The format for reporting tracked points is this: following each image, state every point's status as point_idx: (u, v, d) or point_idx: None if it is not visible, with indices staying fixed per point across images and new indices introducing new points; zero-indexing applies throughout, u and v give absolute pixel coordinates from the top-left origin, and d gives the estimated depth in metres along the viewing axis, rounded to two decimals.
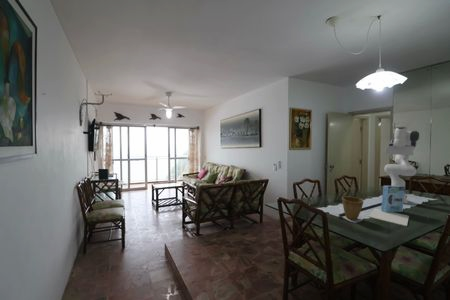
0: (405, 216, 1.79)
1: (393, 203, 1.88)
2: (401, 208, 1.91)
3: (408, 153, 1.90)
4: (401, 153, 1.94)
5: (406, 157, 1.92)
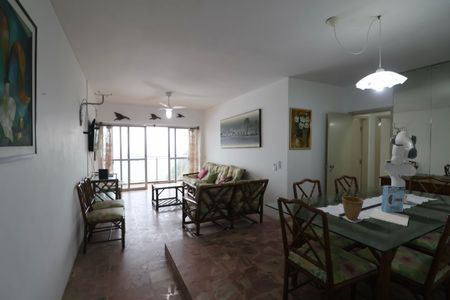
0: (405, 216, 1.79)
1: (393, 203, 1.88)
2: (401, 208, 1.91)
3: (406, 171, 1.88)
4: (399, 170, 1.92)
5: (401, 174, 1.91)
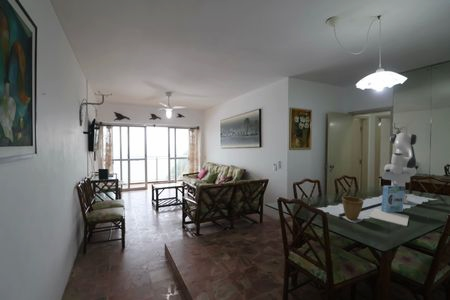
0: (405, 216, 1.79)
1: (393, 203, 1.88)
2: (401, 208, 1.91)
3: (405, 180, 1.89)
4: (398, 179, 1.92)
5: (397, 183, 1.93)
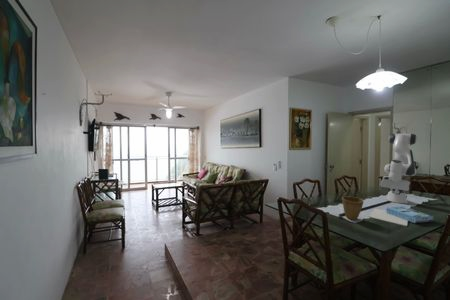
0: None
1: None
2: None
3: (404, 188, 1.85)
4: (397, 187, 1.88)
5: (396, 191, 1.89)
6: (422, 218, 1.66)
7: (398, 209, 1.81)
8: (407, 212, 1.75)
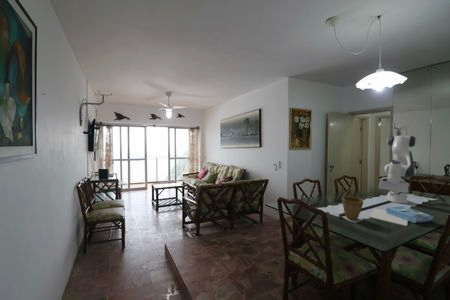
0: None
1: None
2: None
3: (403, 190, 1.78)
4: (395, 189, 1.81)
5: (395, 193, 1.82)
6: (422, 218, 1.66)
7: (398, 209, 1.81)
8: (407, 212, 1.75)
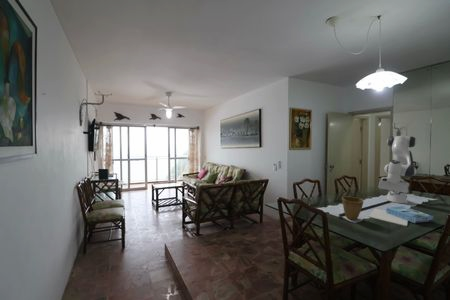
0: None
1: None
2: None
3: (403, 190, 1.77)
4: (395, 189, 1.80)
5: (395, 193, 1.81)
6: (422, 218, 1.66)
7: (398, 209, 1.81)
8: (407, 212, 1.75)
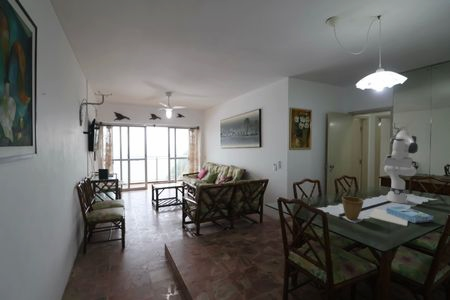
0: None
1: None
2: None
3: (406, 165, 1.88)
4: (399, 165, 1.91)
5: (399, 169, 1.92)
6: (422, 218, 1.66)
7: (398, 209, 1.81)
8: (407, 212, 1.75)
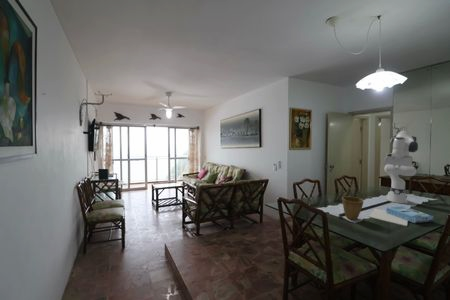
0: None
1: None
2: None
3: (407, 164, 1.88)
4: (400, 164, 1.92)
5: (399, 167, 1.93)
6: (422, 218, 1.66)
7: (398, 209, 1.81)
8: (407, 212, 1.75)
